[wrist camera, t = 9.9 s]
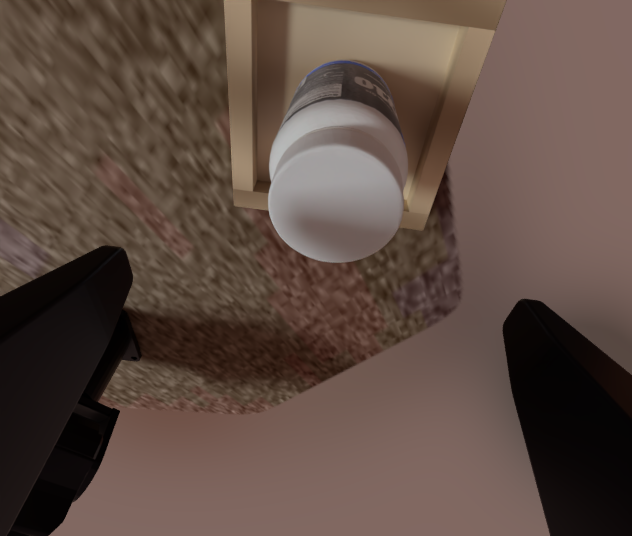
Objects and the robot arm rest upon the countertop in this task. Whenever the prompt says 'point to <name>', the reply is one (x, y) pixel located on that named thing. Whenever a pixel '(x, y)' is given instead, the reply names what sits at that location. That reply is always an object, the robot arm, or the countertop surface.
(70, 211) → the countertop surface
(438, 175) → the beech tray
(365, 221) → the pill bottle
